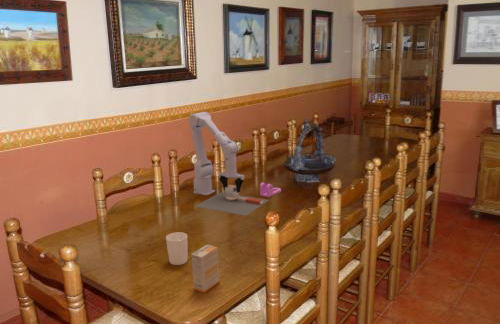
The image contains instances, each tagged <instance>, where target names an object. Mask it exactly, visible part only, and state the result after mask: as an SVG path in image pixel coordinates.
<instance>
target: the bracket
mask: <svg viewBox="0 0 500 324" xmlns="http://www.w3.org/2000/svg"><path fill="white" fill-rule="evenodd" d="M259 185H260V186H259V188H260V189H259V193H260V196H262V197H268V198H271V197H272V196H274V195H276V194H279V193H282V189H281V188H280V187H273V184H271V183H266V182H261V183H260V184H259Z"/></svg>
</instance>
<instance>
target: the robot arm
mask: <svg viewBox="0 0 500 324" xmlns="http://www.w3.org/2000/svg"><path fill="white" fill-rule="evenodd" d="M188 122H189V127H190V133H191V138H192V141H193V146H194V147H193V148H194V150H195V156H196V159H197V160H196V161H195V163H194V165H193V166H194V170H193V171H194V172H193V173H194V175H195V176H194V179H193V194H198V195H203V196H208V195H210V194H213V193H214V192H216V190H215V189H213V188H212V187H213V186H212V185H213V184H212V183H213V182H212V176H213V174H214V172H215V168H214V165H213V164H212V160H210V159H208V157H207V151H206V147H205V146H206V145H205V142H204V136H203V132H202V130H203V128H204V127H205V128H206V129H207V130H208V131H209V132H210V133H211V134H212V135H213V136H214V140H215V142H216V143H217V144H218V145H219V146H220V147H221V151H222V153H223V157H224V165H225V167H224V168H225V172H223V171H221V172H218V177H219V178H218V179H219V181H220V183H221V186H222V188H223V191H224V192H225V187H227V186H228V185H229V183H228V182H229V178H230V179H234V182H235V185H236V191H237V193H240V192H241V188H242V185H243V182H244V180H245V175H244V174H240V173H238V169H237V153H238V151H239V145H238V144H237V142H236V141H233V140H231V139H230V138H229V136H228V135H227V134H226V132H224V131H220V130H219V129H218V127H217V126H216V124H215V123H214V122H213V120H212V116H211V114H210V113H209V112H207V111H202V112H196V113H191V114H190V116H189V118H188Z"/></svg>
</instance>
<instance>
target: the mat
mask: <svg viewBox="0 0 500 324" xmlns="http://www.w3.org/2000/svg"><path fill="white" fill-rule="evenodd" d="M239 197H245V198H249V197H250V198H256V199H261V198H260V197H259V198H258V197H253V196H248V195H240V194H239ZM262 199H263V204H261V205H256V204H250V203H245V202H239V201H233V202H230V201H226V197H225V192H221V191H220V192H219V193H216V194H215V195H212V196H210V197H209V198H207V199H205V200H203V201H201V202H200V203H197V204H196V205H194V207H195V208H201V209H206V210H207V209H208V210H211V211H217V212H223V213H229V214H235V215H240V216H248V215H249V214H251V213H252V212H254V211H255V210H257V209H258V208H260V207H261V206H263V205H265V204H266V203H267V202H269V200H270V199H267V198H266V199H265V198H262Z"/></svg>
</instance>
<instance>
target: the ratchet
mask: <svg viewBox="0 0 500 324" xmlns="http://www.w3.org/2000/svg"><path fill="white" fill-rule="evenodd" d="M239 195H240V194H239ZM239 195H238V196H236V197H234V198H231V197H226V201H230V202H233V201H239V202H245V203H250V204H256V205H261V204H263V199H264V198H260V199H256V198H257V197H254V198H250V197H251V196H248V197H249V198H245V197H239ZM263 205H264V204H263ZM261 206H262V205H261Z"/></svg>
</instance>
